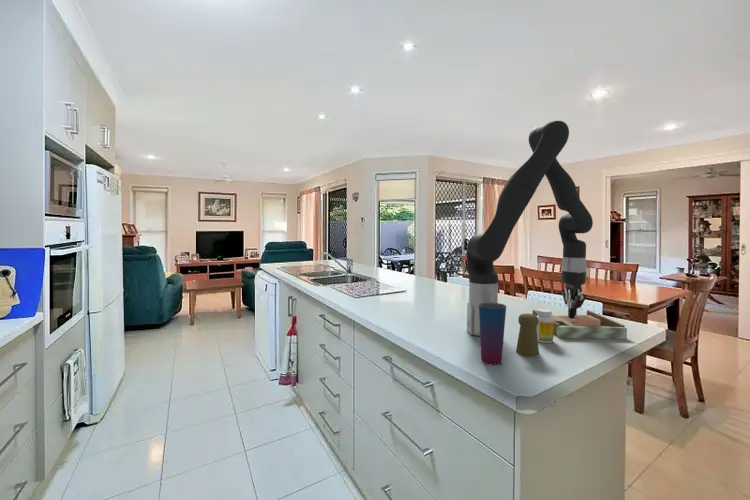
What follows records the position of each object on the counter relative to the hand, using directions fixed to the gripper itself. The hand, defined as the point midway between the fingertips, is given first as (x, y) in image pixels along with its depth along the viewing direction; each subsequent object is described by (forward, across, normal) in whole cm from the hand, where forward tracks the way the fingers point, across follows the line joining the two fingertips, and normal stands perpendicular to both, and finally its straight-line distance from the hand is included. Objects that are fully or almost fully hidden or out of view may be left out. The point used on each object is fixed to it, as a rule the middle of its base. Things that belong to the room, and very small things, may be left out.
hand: (572, 318), depth 123 cm
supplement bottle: (+3, +16, -16) cm, 23 cm away
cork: (+3, +28, -25) cm, 38 cm away
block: (+1, +8, +1) cm, 9 cm away
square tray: (+3, +3, 0) cm, 4 cm away
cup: (+3, +35, -37) cm, 51 cm away
